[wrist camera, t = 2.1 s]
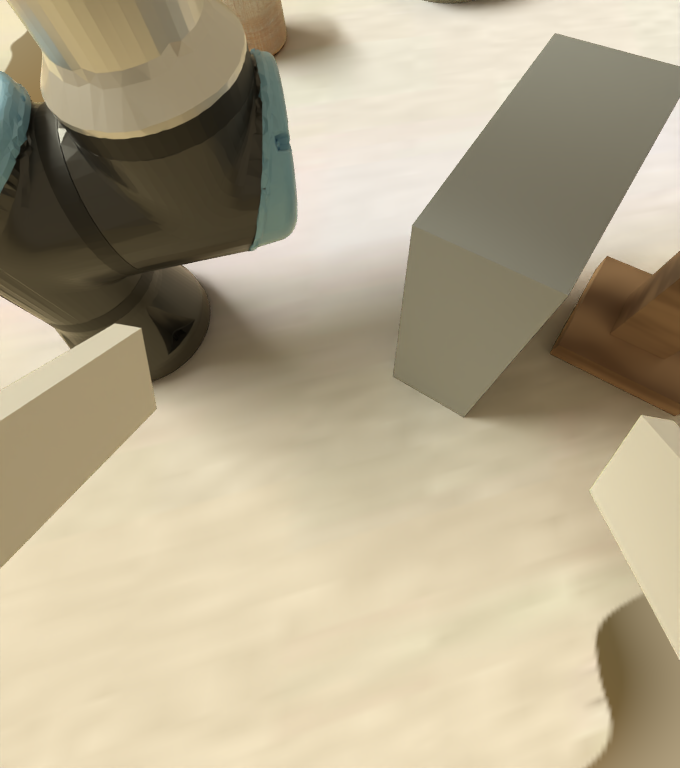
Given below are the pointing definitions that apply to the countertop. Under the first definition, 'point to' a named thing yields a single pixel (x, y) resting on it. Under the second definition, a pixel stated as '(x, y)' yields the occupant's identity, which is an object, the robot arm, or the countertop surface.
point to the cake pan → (448, 1)
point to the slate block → (525, 214)
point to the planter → (261, 23)
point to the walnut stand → (629, 331)
